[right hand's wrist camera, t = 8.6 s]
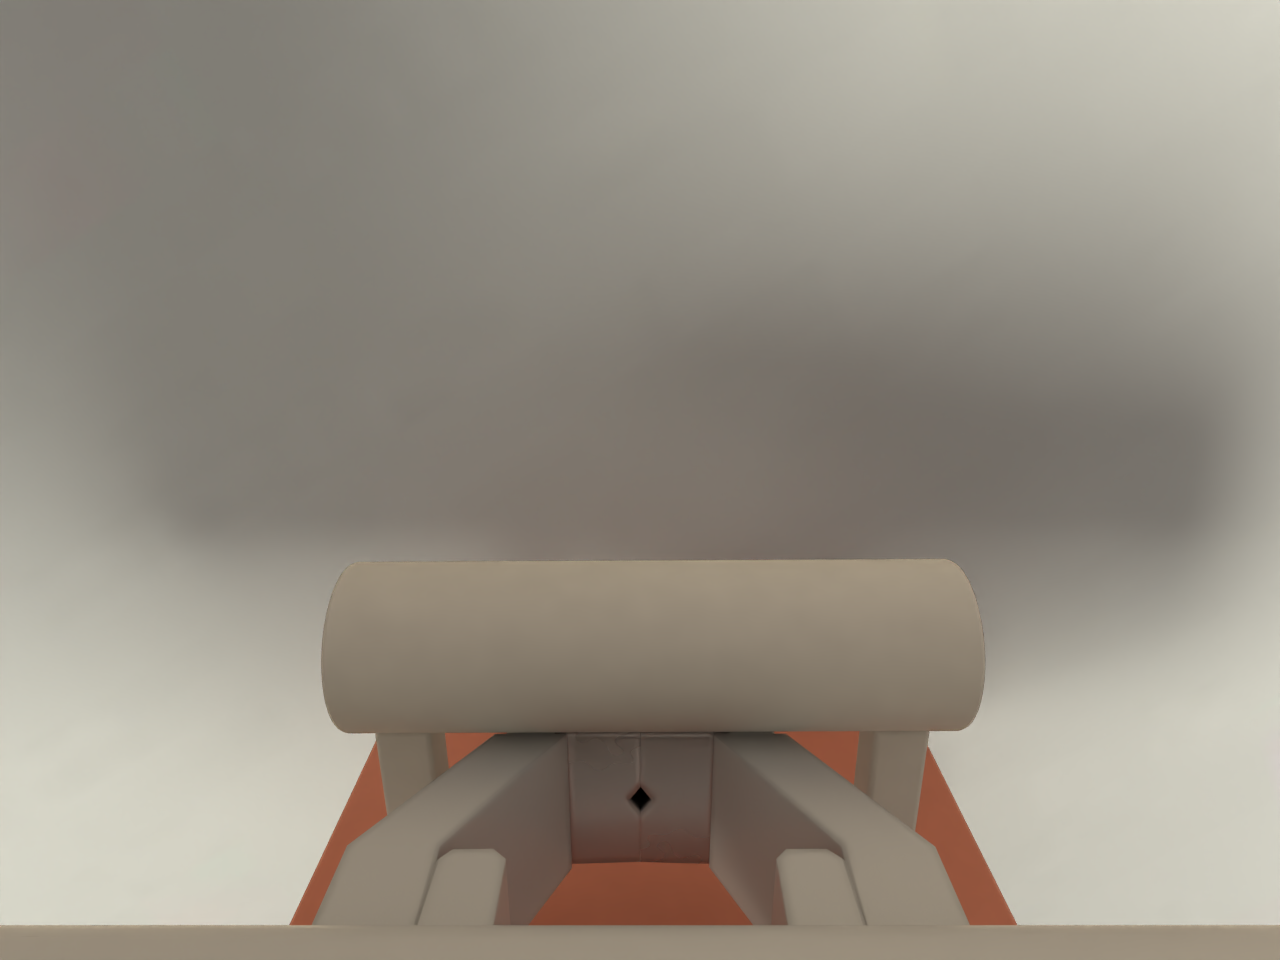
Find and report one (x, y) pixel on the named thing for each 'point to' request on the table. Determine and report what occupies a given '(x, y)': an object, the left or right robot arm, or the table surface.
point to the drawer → (660, 690)
